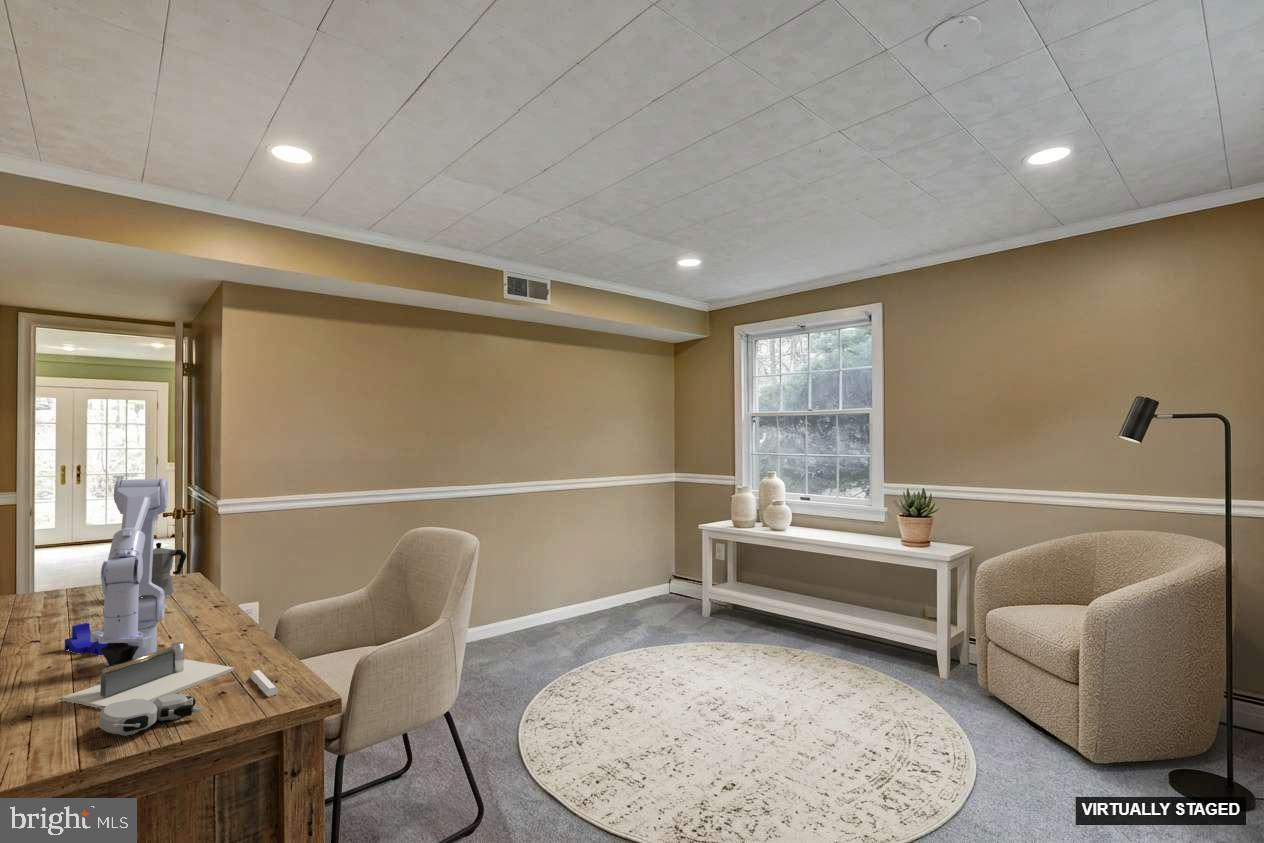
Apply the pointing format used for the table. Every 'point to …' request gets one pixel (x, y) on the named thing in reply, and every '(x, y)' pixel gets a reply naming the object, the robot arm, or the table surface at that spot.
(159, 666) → the gate
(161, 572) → the coffeepot
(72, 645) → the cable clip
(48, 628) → the table surface
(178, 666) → the gate post
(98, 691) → the gate board
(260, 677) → the marker
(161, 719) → the robot toy
